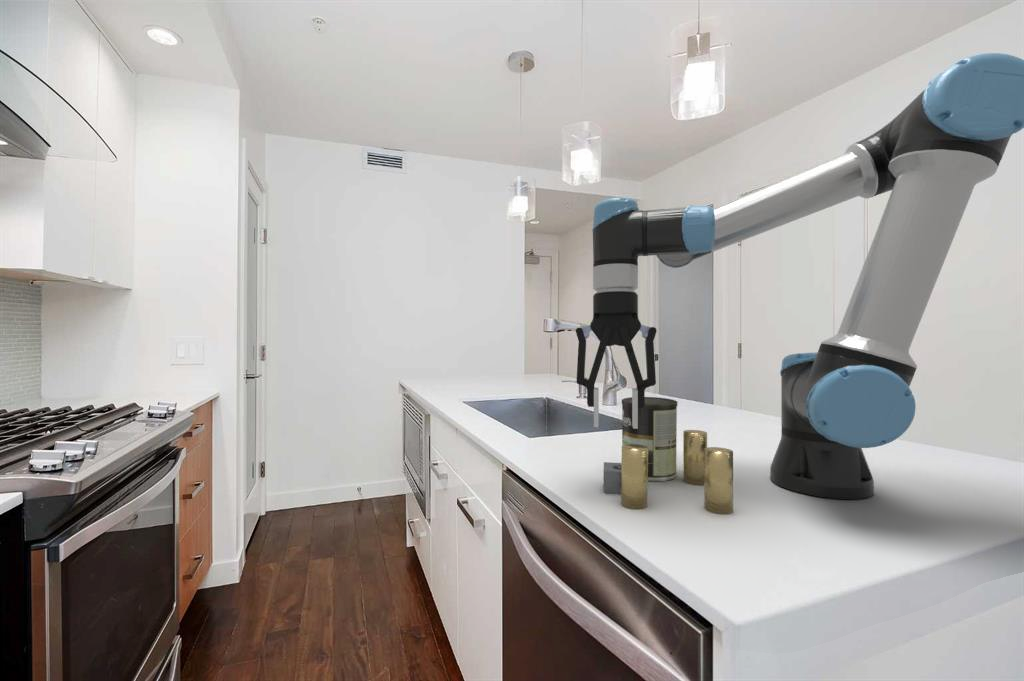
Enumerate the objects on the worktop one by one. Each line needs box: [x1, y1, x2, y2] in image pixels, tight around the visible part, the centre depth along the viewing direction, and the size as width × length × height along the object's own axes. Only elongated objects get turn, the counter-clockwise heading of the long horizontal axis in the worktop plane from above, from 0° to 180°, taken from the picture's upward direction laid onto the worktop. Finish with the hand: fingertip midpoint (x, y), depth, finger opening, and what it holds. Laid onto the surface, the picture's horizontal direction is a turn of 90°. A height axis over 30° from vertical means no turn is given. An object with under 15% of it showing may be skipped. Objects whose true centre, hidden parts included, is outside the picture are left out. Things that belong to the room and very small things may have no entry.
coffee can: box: [621, 396, 679, 482], centre depth 89 cm, size 10×10×14 cm
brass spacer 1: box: [620, 444, 649, 510], centre depth 73 cm, size 4×4×9 cm
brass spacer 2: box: [682, 429, 708, 486], centre depth 84 cm, size 4×4×9 cm
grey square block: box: [603, 461, 622, 496], centre depth 80 cm, size 6×6×4 cm
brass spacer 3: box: [703, 446, 734, 515], centre depth 71 cm, size 4×4×9 cm
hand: (615, 426), depth 80 cm, fingers open, 6 cm apart
